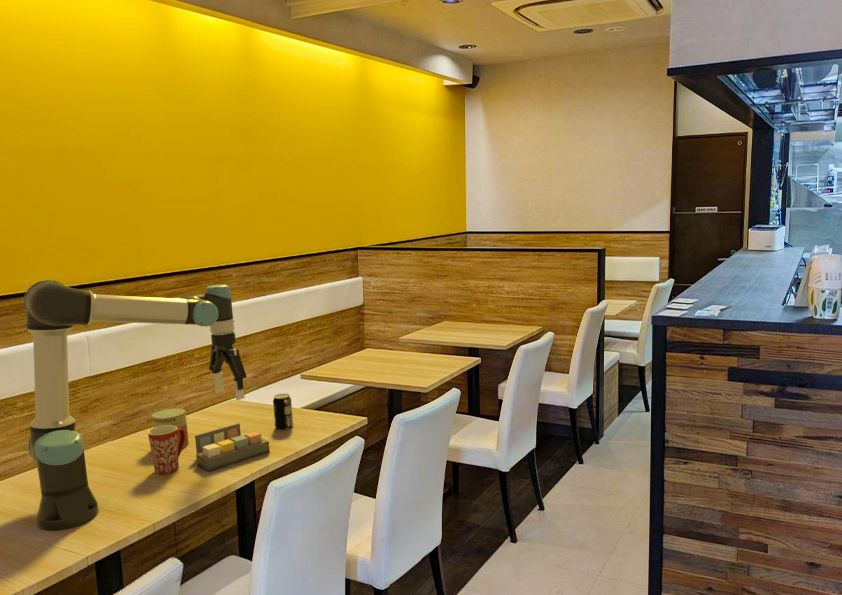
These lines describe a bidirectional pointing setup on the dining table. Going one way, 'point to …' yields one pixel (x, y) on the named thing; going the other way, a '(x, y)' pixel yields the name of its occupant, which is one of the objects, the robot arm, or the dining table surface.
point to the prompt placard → (216, 436)
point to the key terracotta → (253, 437)
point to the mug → (165, 447)
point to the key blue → (240, 441)
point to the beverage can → (282, 411)
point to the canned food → (172, 421)
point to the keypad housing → (232, 456)
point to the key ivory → (211, 450)
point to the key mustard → (226, 446)
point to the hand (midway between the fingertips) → (229, 395)
